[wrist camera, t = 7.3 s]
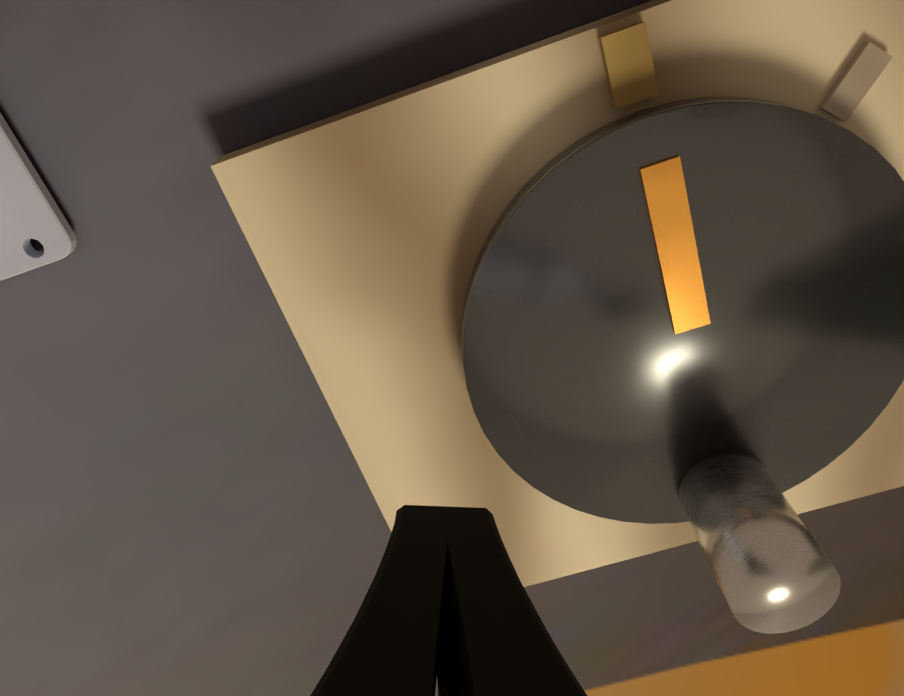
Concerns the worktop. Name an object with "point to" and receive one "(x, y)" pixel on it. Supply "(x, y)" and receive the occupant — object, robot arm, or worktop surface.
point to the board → (477, 210)
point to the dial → (695, 331)
